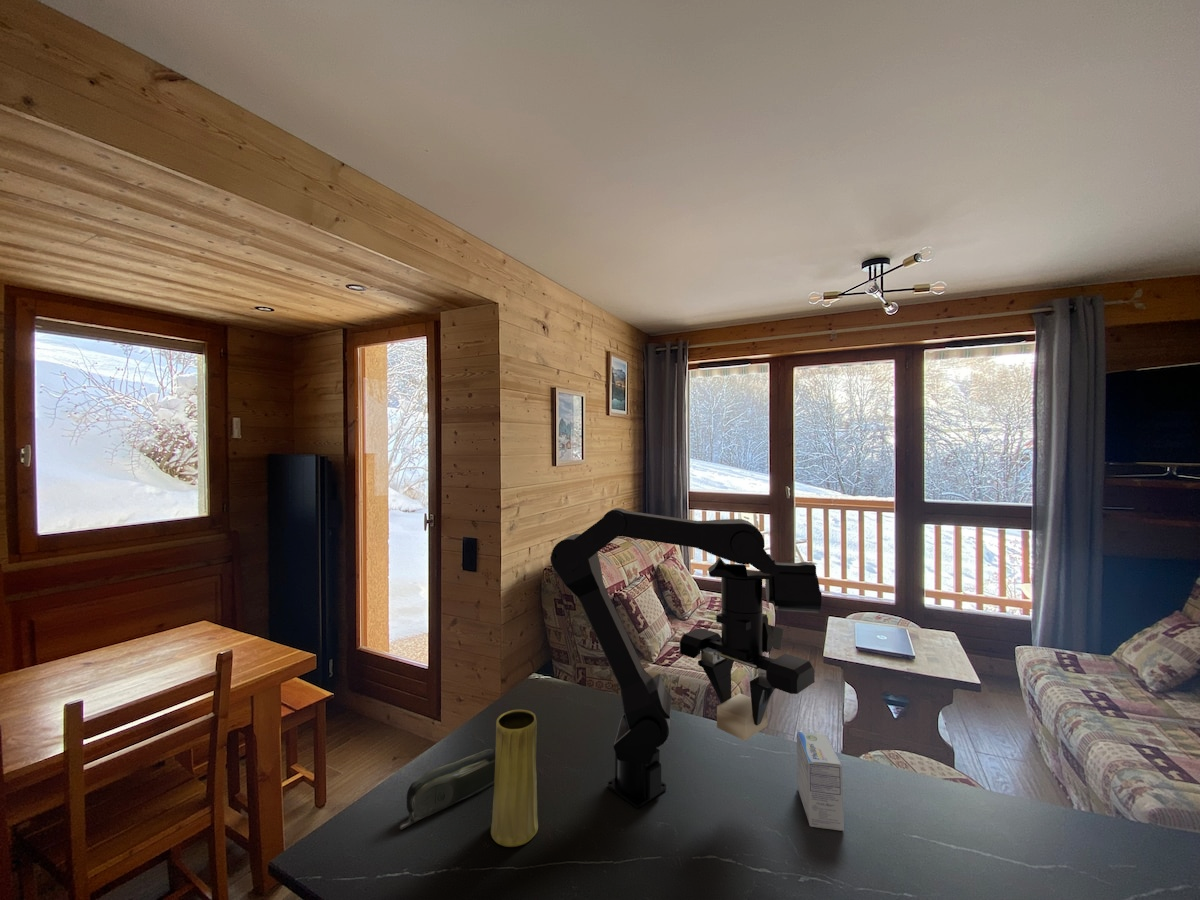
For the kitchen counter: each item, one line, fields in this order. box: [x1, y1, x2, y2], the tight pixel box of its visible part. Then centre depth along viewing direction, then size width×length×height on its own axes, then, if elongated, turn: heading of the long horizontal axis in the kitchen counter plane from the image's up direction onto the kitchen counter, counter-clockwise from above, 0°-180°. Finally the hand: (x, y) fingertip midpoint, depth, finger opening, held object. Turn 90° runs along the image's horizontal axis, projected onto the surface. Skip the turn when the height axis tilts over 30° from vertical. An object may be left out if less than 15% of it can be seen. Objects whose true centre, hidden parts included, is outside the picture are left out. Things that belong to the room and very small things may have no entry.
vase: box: [490, 709, 539, 848], centre depth 63 cm, size 6×6×14 cm
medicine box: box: [796, 731, 845, 832], centre depth 68 cm, size 8×4×9 cm, turn 168°
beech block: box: [716, 692, 768, 742], centre depth 69 cm, size 4×6×3 cm
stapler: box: [399, 747, 496, 831], centre depth 69 cm, size 5×3×15 cm
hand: (742, 717), depth 69 cm, fingers closed on beech block, 4 cm apart
